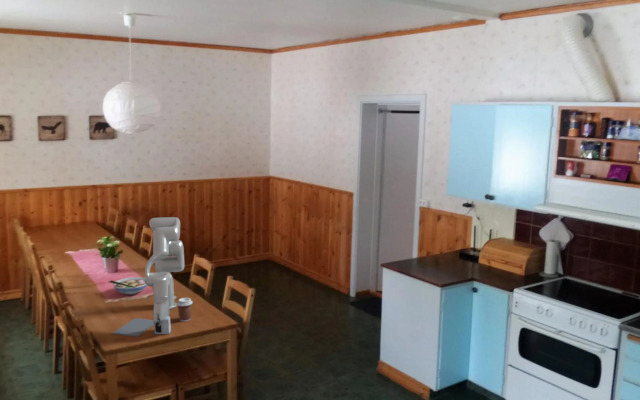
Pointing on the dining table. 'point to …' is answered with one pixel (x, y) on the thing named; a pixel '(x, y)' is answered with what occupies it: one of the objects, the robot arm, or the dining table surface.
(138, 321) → the mat
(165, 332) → the medicine box
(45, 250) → the dining table surface
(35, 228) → the dining table surface
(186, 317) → the coffee cup
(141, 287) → the ramen bowl
